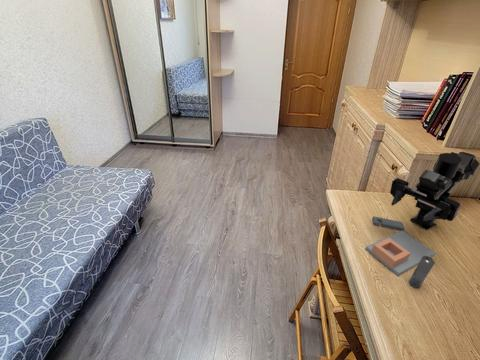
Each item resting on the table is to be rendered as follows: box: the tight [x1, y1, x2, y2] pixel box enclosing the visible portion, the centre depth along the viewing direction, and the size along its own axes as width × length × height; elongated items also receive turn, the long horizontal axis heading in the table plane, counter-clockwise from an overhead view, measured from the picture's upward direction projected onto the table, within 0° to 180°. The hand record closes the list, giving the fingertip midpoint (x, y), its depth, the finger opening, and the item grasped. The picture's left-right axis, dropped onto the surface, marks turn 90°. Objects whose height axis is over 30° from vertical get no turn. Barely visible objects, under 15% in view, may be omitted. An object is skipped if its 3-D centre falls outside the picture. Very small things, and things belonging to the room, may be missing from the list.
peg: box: [408, 256, 436, 289], centre depth 74 cm, size 3×3×10 cm
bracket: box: [371, 215, 406, 232], centre depth 98 cm, size 4×10×2 cm, turn 73°
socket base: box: [364, 230, 437, 277], centre depth 86 cm, size 19×12×4 cm, turn 117°
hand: (406, 211), depth 79 cm, fingers open, 9 cm apart
